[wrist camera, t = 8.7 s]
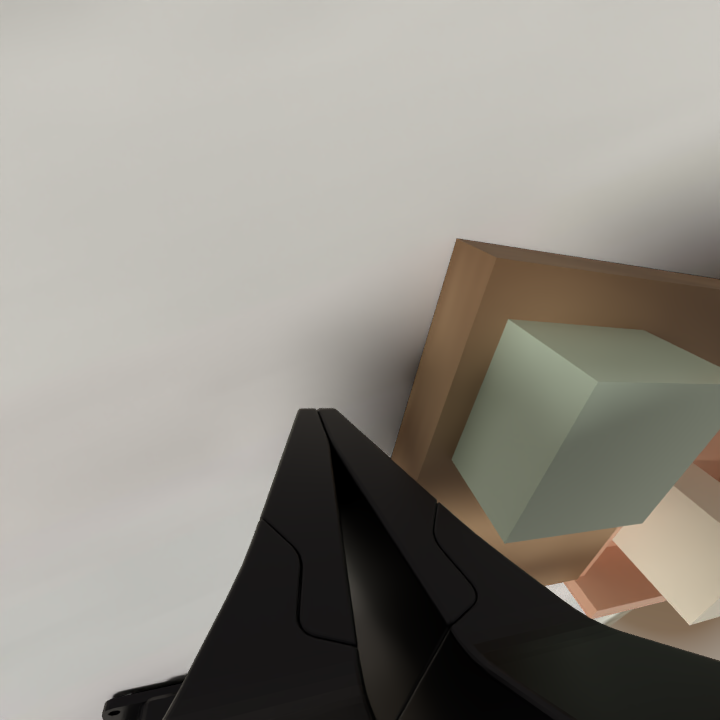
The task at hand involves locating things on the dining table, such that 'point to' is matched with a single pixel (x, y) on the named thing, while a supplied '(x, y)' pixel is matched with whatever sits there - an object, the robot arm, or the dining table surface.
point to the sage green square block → (583, 427)
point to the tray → (627, 565)
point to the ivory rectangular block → (681, 546)
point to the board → (479, 342)
